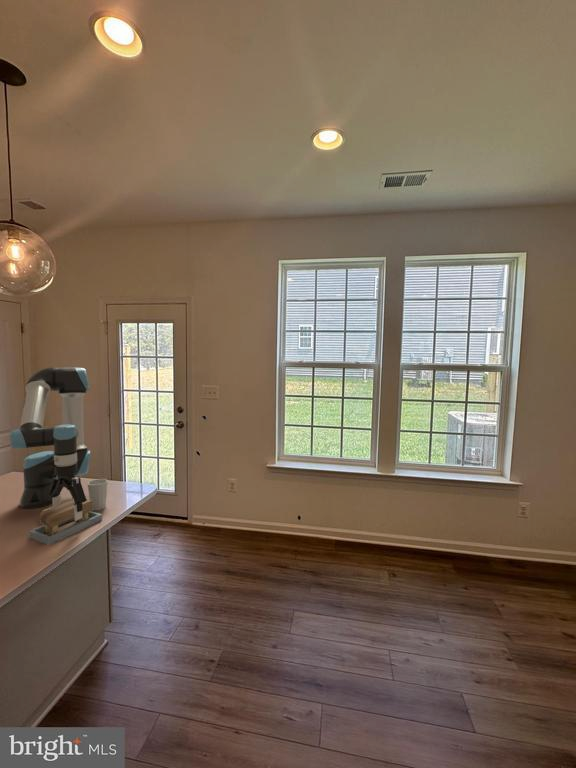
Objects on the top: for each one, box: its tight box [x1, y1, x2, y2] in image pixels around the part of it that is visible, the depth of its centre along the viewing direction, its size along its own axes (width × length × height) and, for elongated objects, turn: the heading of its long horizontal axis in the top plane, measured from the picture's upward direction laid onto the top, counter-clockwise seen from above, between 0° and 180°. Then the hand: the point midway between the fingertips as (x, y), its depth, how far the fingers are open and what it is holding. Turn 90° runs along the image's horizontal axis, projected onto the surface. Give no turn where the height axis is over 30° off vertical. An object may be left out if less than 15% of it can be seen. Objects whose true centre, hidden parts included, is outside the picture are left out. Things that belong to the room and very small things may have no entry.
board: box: [39, 498, 93, 527], centre depth 130 cm, size 7×16×4 cm, turn 156°
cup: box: [87, 478, 108, 511], centre depth 149 cm, size 8×8×12 cm
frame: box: [28, 510, 103, 546], centre depth 130 cm, size 12×21×5 cm, turn 156°
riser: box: [42, 499, 74, 512], centre depth 142 cm, size 4×12×4 cm, turn 156°
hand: (67, 515), depth 130 cm, fingers open, 13 cm apart
